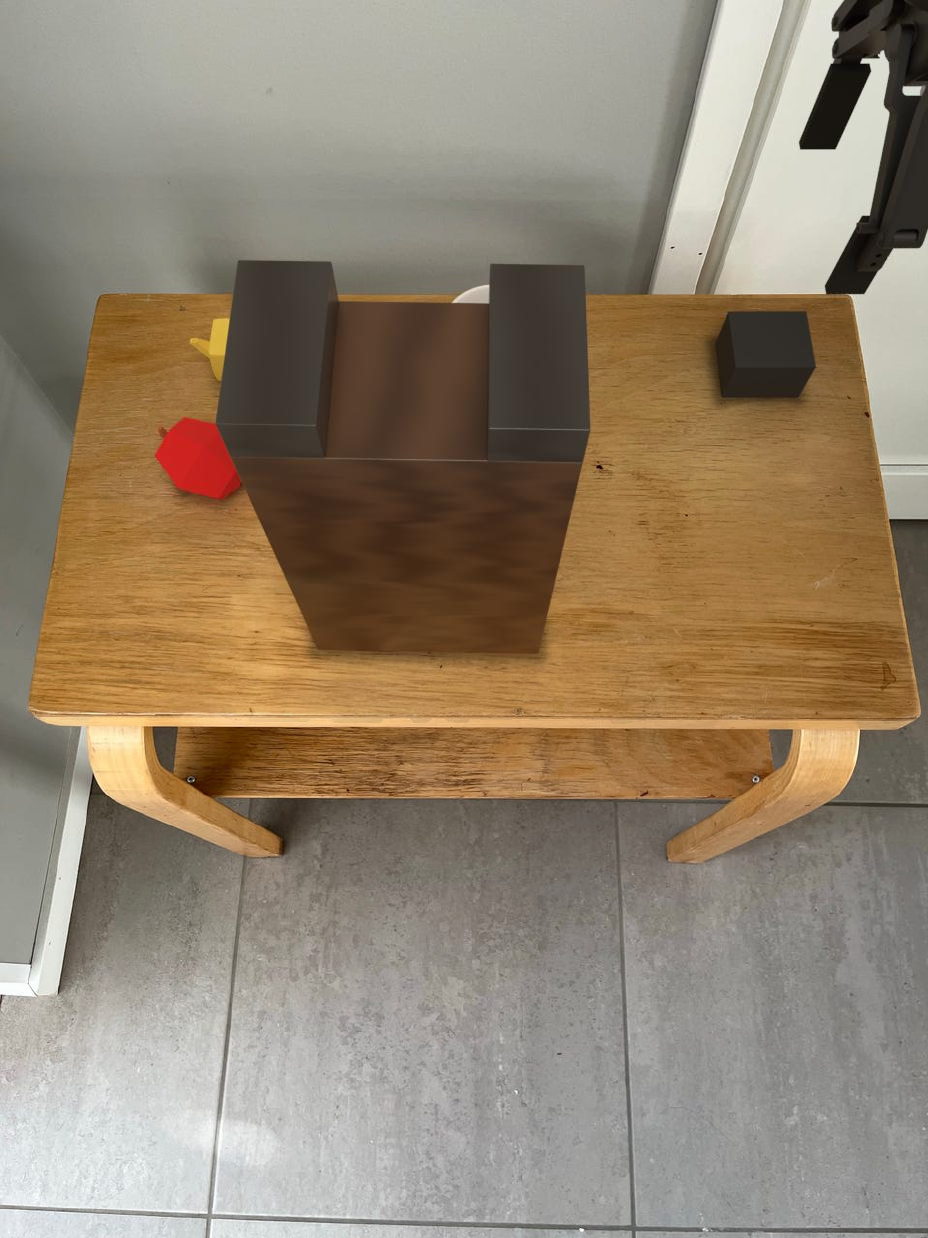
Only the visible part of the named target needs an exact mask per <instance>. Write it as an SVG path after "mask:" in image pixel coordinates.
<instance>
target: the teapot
mask: <svg viewBox="0 0 928 1238" xmlns="http://www.w3.org/2000/svg"><path fill="white" fill-rule="evenodd" d="M229 320H230V317H229V318H225V317H224V318H215V319H213V321H212V325H211V331H210V338H209V340H206V339H202V338H198V337H192V338H190V340H189V344H190V345H191V346H193V347H194V348H195V349H196V350H198V351H199V352H200V353H202V354H203V355H204V356H205V357H206V358H208V359H209V363H210V366H211V369H212V373H213V375H214V377H215V379H216V380H217V381H218V382H221V379H222V372H223V364H224V357H225V350H226V342H227V335H228V328H229Z"/></svg>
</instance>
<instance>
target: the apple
mask: <svg viewBox="0 0 928 1238" xmlns="http://www.w3.org/2000/svg"><path fill="white" fill-rule="evenodd" d="M215 423H216V422H209V421H204V420H201V419H196V418H191V417H186V416H184V417H183V418H181V419H180V420H179V421H178V422H177V423H175V424H174V425H173V426H172V427H171V428H169V429H168V430H166V428H165V427H164V426H162V425H159V426H158V427H157V431H158V435H159V436H160V438H161V439H163V440H162V441H161V443H160V445H159V447H158V448H157V450H156V452H155V453H154V455H153V456H154V458H156V461H158V463H159V464H160V466H161V467H162V468H163V470H164V472H165V473H166V474H167V475H168V476H169V478H170V479H171V481H172V482H173V483H174V484H175V486H176V487H177V489H178V490H181V491H184V492H188V493H191V494H197V495H200V496H205V497H207V498H208V497H209V498H213V499H217V500H219V501H220V500H221V501H223V500H224V499H226V498H227V497H229V495H231V494H232V493H233V492H234V491H237V490H238V489H239V488H240V487H241V484H242V482H241V479H240V477H239V475H238V473H237V471H236V468H235V466H234V464H233V462H232V460H231V457H230V455H229V453H228V451H227V449H226V446H225V444H224V442H223V440H222V438H221V435H220V433H219V431H218V429H217V427H216V424H215Z"/></svg>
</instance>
